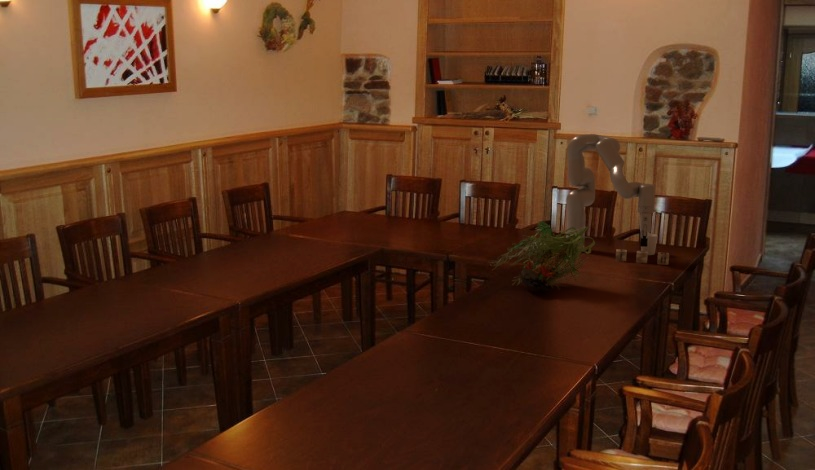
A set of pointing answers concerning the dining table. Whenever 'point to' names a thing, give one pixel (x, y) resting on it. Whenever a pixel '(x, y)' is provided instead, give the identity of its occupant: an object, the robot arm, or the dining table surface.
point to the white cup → (650, 244)
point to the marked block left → (621, 255)
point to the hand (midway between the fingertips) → (643, 246)
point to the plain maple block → (642, 256)
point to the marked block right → (663, 258)
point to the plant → (549, 256)
